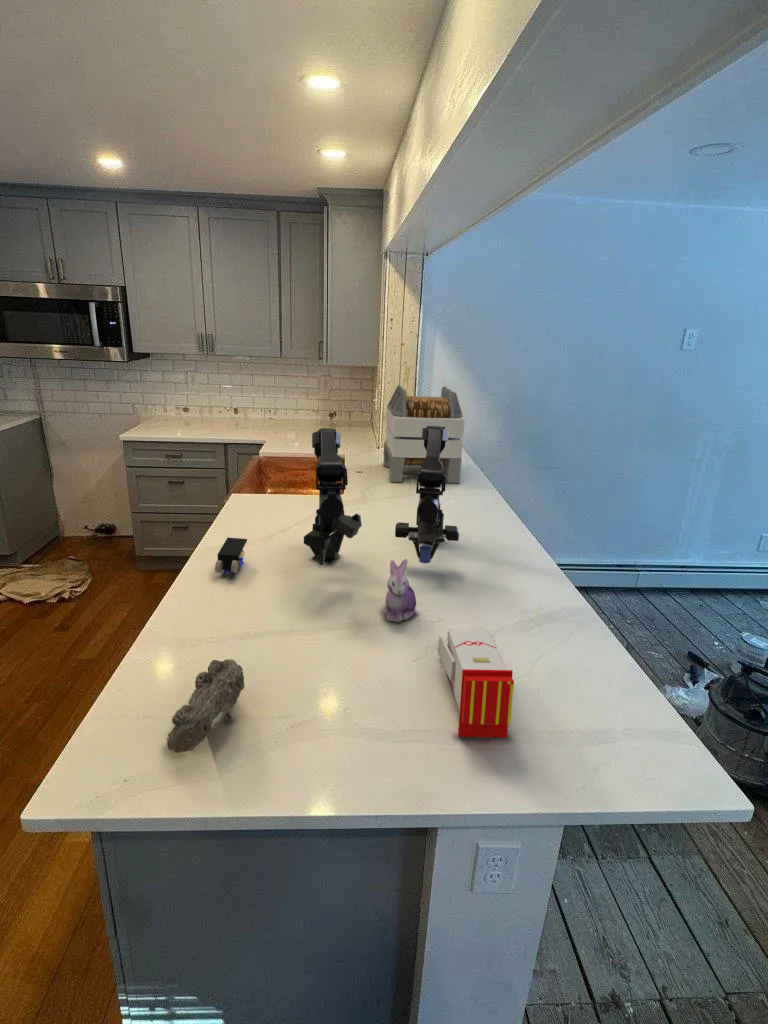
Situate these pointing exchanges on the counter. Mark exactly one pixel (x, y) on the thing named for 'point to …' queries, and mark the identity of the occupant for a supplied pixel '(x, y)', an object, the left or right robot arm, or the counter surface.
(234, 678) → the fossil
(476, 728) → the toy
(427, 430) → the right robot arm
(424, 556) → the canister
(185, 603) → the counter surface
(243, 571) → the counter surface
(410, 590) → the figurine
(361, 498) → the counter surface
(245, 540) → the black wheeled cart
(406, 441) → the grey crate with roll
